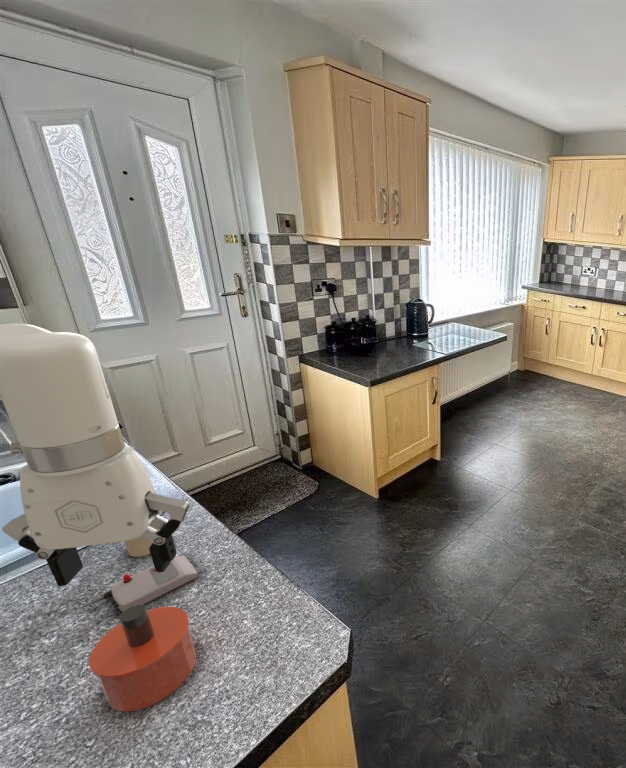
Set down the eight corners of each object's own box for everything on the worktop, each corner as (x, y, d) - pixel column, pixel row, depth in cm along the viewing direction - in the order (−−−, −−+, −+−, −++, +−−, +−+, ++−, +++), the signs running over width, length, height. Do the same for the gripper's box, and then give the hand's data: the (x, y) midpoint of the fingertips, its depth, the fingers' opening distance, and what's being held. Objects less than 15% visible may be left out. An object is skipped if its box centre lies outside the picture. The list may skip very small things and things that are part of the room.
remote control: (210, 571, 75) (207, 557, 74) (91, 631, 63) (85, 616, 62) (196, 553, 79) (193, 540, 78) (81, 607, 67) (75, 593, 66)
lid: (71, 690, 50) (56, 657, 48) (120, 619, 59) (109, 588, 57) (169, 672, 53) (159, 639, 51) (202, 606, 62) (194, 576, 60)
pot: (90, 720, 52) (74, 684, 50) (132, 650, 61) (120, 617, 59) (178, 702, 55) (166, 667, 52) (207, 638, 63) (198, 605, 61)
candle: (171, 544, 81) (159, 500, 77) (135, 561, 76) (120, 516, 73) (158, 533, 83) (146, 490, 80) (123, 549, 79) (108, 504, 75)
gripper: (-61, 473, 40) (4, 608, 46) (152, 456, 45) (188, 581, 50) (4, 438, 47) (54, 559, 53) (184, 426, 51) (212, 539, 57)
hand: (120, 570), depth 52 cm, fingers open, 9 cm apart
